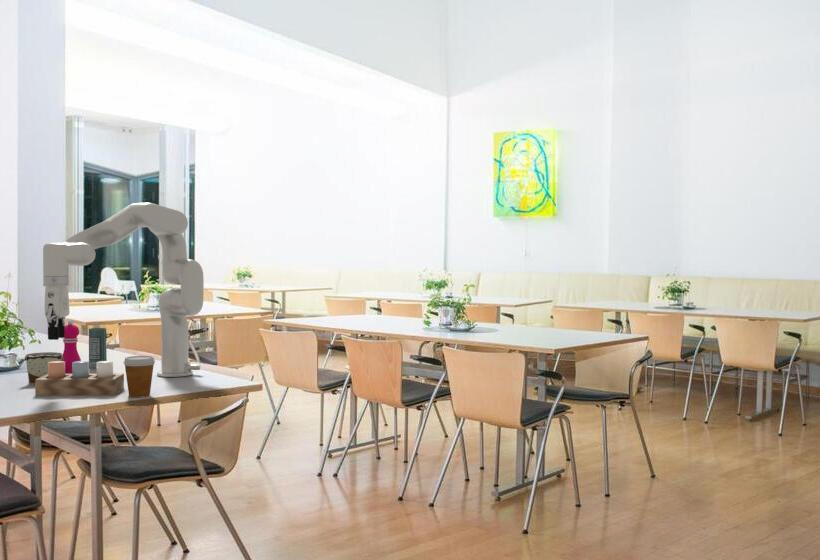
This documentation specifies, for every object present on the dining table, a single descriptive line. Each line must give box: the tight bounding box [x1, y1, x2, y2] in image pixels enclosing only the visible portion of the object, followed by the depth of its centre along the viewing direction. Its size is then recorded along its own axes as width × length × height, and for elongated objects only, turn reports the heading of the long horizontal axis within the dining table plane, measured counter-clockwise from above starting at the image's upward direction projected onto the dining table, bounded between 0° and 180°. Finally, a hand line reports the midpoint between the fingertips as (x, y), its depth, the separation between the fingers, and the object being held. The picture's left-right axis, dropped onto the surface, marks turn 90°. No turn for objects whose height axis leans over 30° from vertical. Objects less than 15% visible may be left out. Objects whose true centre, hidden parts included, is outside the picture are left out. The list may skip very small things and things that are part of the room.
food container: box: [23, 351, 64, 385], centre depth 283 cm, size 12×6×10 cm, turn 111°
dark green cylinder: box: [88, 327, 108, 369], centre depth 319 cm, size 6×6×15 cm
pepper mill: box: [62, 319, 82, 374], centre depth 298 cm, size 7×7×20 cm
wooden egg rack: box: [34, 373, 125, 396], centre depth 265 cm, size 24×12×5 cm, turn 95°
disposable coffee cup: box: [122, 355, 156, 398], centre depth 260 cm, size 10×10×12 cm
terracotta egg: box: [48, 361, 65, 378], centre depth 264 cm, size 5×5×6 cm
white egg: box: [95, 360, 114, 378], centre depth 266 cm, size 5×5×6 cm
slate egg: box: [72, 360, 90, 378], centre depth 265 cm, size 5×5×6 cm
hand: (56, 337), depth 264 cm, fingers open, 4 cm apart
